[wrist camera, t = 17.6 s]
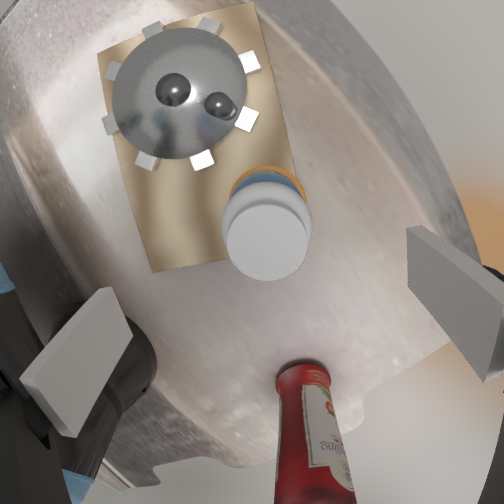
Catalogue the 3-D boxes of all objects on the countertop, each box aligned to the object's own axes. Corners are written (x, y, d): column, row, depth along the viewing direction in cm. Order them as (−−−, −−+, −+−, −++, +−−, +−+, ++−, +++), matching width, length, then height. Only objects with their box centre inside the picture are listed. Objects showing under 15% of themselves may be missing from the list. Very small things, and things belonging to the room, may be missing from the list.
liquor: (342, 377, 37) (383, 585, 11) (297, 403, 39) (307, 599, 13) (308, 346, 35) (337, 591, 9) (261, 376, 37) (250, 598, 11)
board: (156, 268, 33) (152, 273, 32) (102, 55, 25) (96, 53, 24) (306, 239, 31) (308, 243, 30) (253, 6, 23) (252, 2, 22)
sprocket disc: (86, 141, 27) (49, 145, 21) (146, 6, 22) (120, -18, 16) (219, 197, 28) (206, 214, 22) (290, 52, 23) (296, 29, 17)
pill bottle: (219, 190, 28) (191, 225, 17) (279, 156, 26) (288, 169, 16) (254, 246, 30) (247, 308, 19) (311, 215, 28) (338, 263, 18)
